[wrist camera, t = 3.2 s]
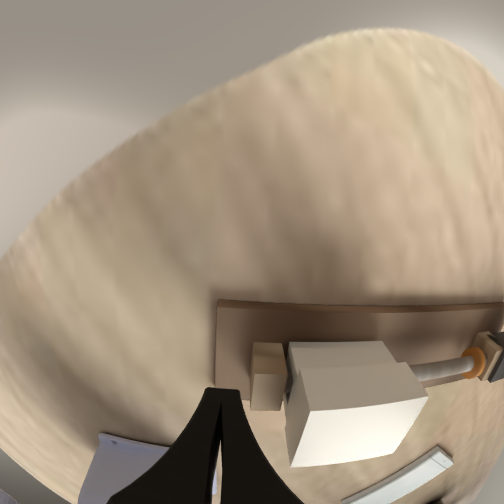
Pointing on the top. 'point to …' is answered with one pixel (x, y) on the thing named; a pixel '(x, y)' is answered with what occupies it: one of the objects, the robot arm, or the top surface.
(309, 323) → the cord rail
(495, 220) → the top surface
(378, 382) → the white rounded cube
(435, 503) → the supplement bottle
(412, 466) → the hard drive
